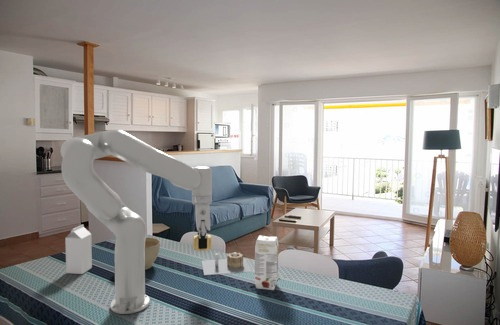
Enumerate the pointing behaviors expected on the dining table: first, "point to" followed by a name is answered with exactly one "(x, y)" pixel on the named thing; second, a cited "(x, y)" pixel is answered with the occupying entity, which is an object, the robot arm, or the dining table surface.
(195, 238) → the ochre gear
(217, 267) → the gear board
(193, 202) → the robot arm
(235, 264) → the beech gear
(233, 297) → the dining table surface
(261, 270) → the juice carton
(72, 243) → the milk carton
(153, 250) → the planter bowl
